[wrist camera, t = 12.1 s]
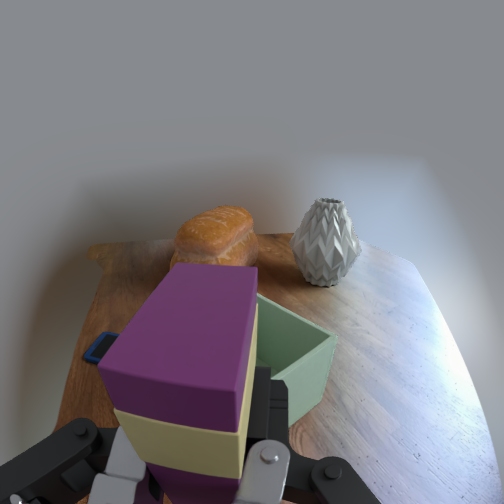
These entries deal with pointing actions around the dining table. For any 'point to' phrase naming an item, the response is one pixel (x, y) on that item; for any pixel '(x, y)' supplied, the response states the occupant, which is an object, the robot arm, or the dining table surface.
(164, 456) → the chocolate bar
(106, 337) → the cell phone
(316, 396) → the open storage box
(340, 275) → the vase
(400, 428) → the dining table surface
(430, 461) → the dining table surface
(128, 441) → the robot arm
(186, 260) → the bread
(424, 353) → the dining table surface
